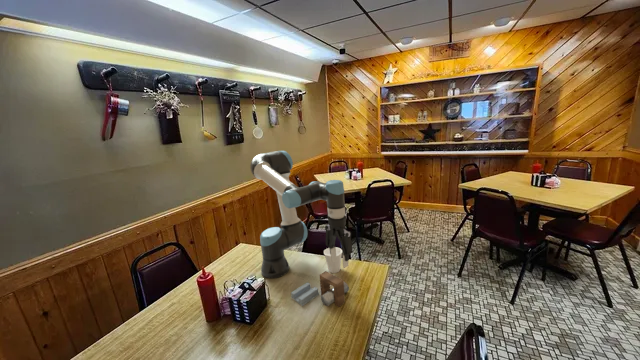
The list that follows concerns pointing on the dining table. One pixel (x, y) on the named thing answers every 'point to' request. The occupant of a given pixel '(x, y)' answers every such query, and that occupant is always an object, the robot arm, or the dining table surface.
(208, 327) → the dining table surface
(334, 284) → the brown arch block
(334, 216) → the robot arm
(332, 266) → the cup
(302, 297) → the cradle
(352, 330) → the dining table surface
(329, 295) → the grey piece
